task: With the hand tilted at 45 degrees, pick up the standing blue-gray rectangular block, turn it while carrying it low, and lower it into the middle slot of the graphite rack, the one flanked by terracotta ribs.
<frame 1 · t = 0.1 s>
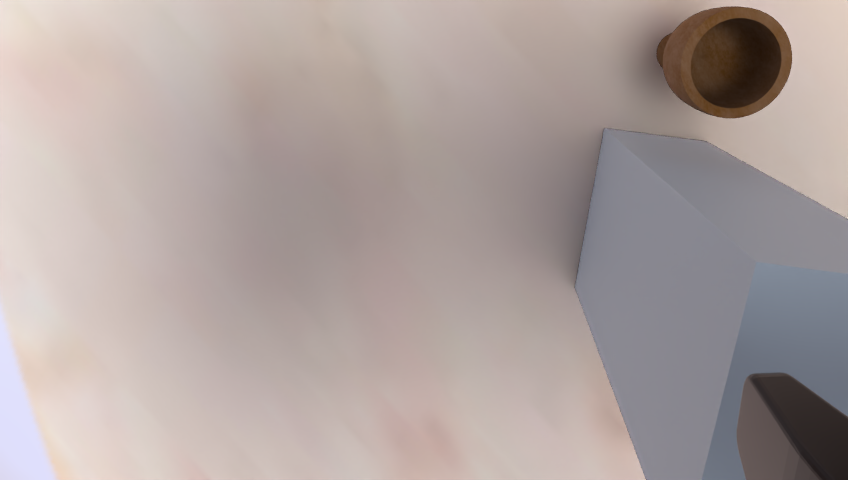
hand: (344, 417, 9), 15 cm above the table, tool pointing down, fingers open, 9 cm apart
blue-gray rectangular block: (638, 216, 24), on the table
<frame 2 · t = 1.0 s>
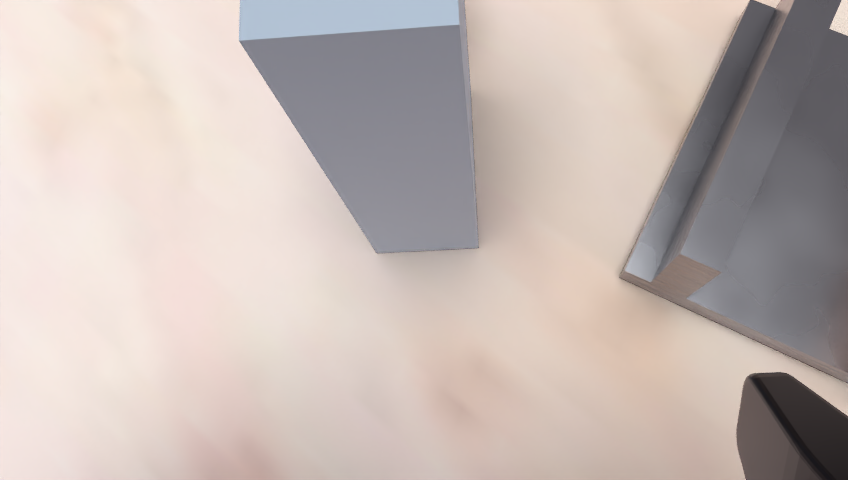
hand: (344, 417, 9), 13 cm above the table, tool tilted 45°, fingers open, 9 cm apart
blue-gray rectangular block: (424, 169, 24), on the table
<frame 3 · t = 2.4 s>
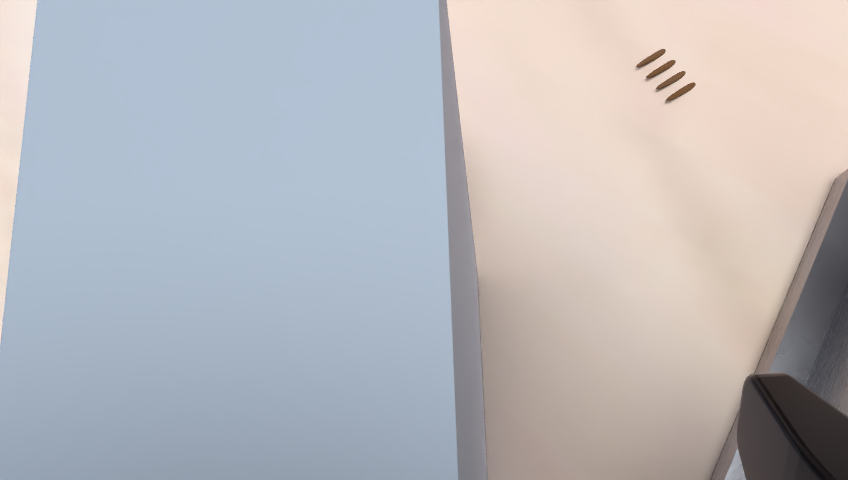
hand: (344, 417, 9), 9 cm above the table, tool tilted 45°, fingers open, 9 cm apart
blue-gray rectangular block: (416, 385, 18), on the table
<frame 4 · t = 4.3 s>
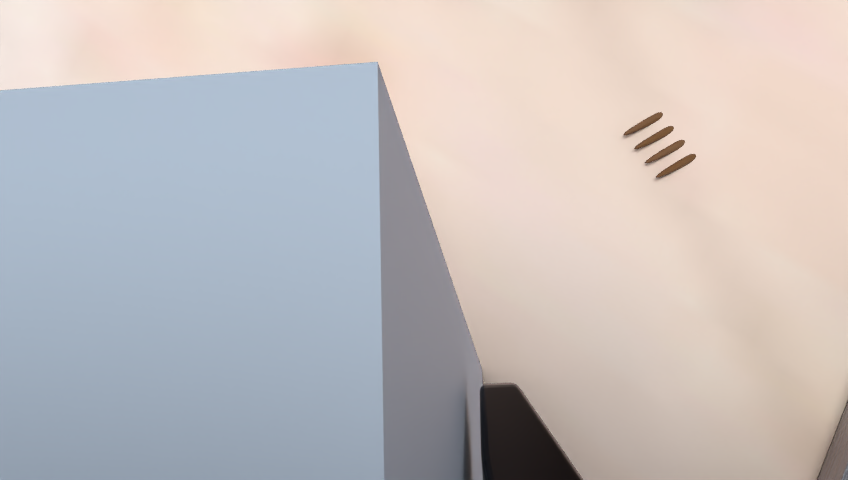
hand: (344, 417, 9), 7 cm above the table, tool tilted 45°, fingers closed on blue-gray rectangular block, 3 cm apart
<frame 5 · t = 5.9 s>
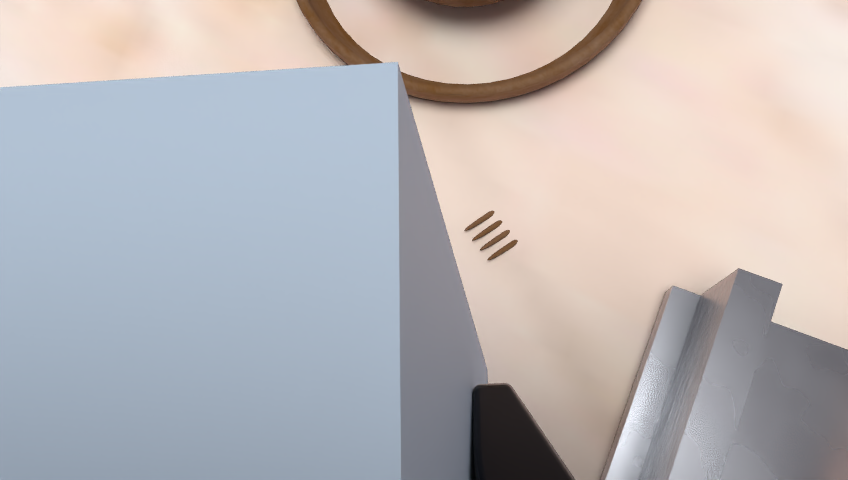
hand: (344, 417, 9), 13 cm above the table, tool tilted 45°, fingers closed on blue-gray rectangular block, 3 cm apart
place setting: (376, 28, 26), on the table
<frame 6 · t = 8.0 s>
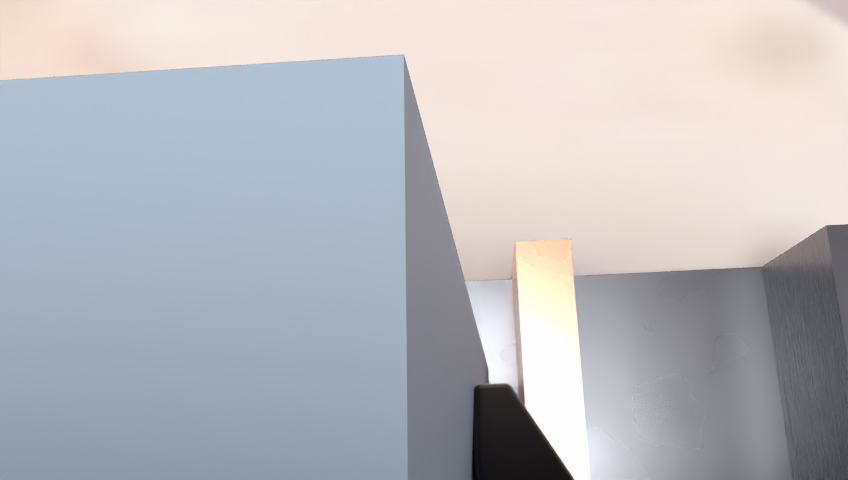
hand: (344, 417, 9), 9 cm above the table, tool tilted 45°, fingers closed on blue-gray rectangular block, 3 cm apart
when the fingers open (9 cm above the table, at t = 8.7 s): blue-gray rectangular block drops 1 cm, resting on rack.
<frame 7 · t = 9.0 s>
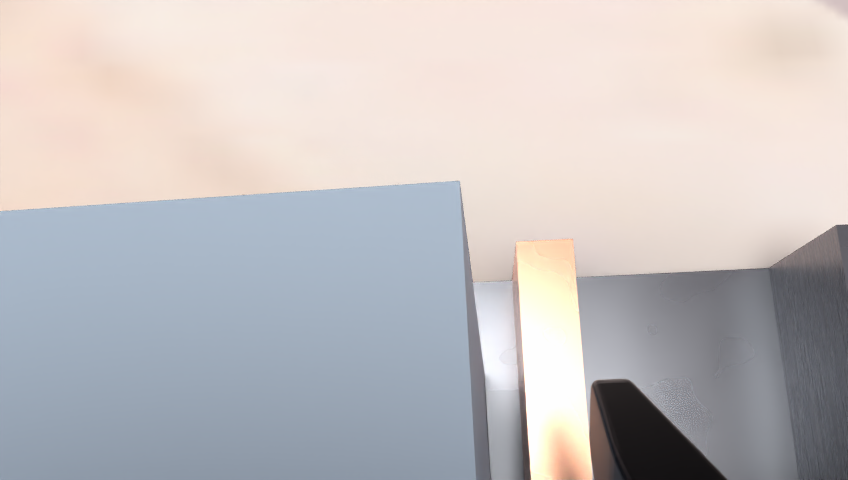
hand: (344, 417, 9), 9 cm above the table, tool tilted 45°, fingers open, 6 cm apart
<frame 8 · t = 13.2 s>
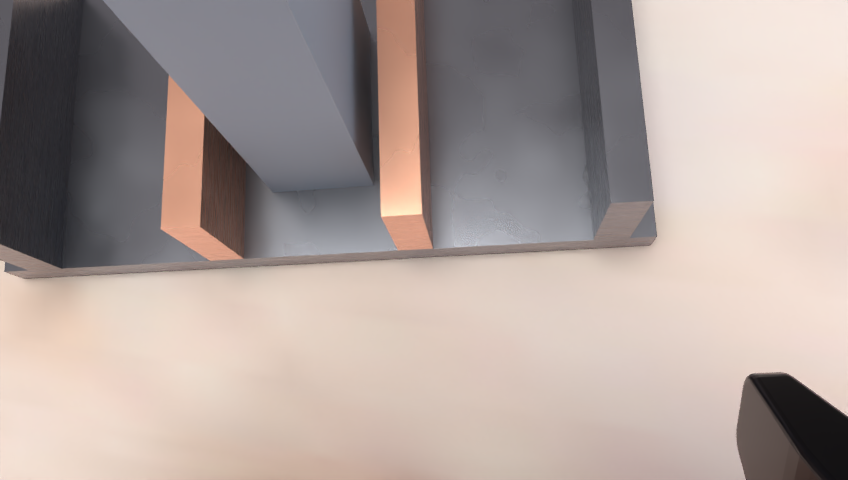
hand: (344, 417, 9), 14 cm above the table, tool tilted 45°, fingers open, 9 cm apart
blue-gray rectangular block: (322, 110, 24), point 1 cm above the table, touching rack
rack: (326, 122, 25), on the table
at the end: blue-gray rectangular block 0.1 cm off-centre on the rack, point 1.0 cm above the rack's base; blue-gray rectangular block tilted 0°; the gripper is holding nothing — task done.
